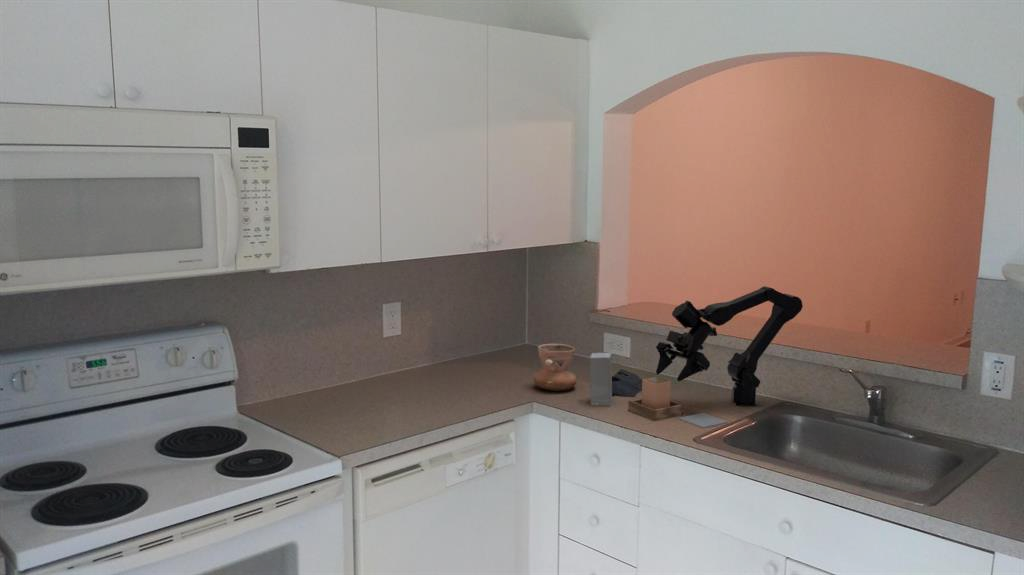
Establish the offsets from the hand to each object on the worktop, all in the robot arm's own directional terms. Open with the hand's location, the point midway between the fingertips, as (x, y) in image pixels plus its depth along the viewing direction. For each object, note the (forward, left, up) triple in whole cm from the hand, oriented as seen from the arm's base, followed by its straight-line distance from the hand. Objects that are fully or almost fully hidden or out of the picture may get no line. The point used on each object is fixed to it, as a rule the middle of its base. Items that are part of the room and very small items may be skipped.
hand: (667, 377), depth 244 cm
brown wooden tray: (+4, +3, -11) cm, 12 cm away
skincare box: (+20, -7, -11) cm, 24 cm away
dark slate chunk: (+11, -25, -12) cm, 30 cm away
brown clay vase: (+34, -24, -11) cm, 43 cm away
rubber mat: (-9, +10, -11) cm, 17 cm away
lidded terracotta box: (+4, +3, -10) cm, 11 cm away
